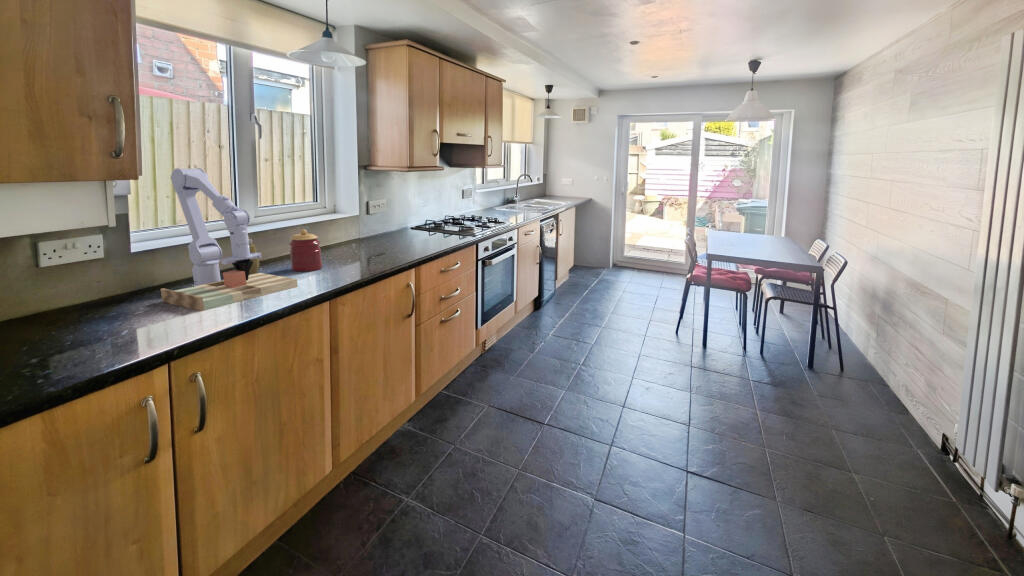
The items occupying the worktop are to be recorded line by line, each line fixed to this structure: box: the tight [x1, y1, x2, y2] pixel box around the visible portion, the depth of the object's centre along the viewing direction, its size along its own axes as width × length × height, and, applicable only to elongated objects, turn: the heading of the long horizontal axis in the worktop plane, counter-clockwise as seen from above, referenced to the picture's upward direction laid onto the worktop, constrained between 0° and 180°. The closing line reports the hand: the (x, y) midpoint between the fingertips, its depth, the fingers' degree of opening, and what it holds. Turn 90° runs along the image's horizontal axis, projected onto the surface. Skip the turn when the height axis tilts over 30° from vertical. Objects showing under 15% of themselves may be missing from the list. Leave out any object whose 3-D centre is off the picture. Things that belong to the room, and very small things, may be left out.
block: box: [222, 269, 247, 288], centre depth 180 cm, size 5×5×5 cm
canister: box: [288, 229, 323, 273], centre depth 220 cm, size 13×13×18 cm
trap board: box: [160, 272, 299, 312], centre depth 180 cm, size 22×37×4 cm, turn 152°
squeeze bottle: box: [241, 236, 260, 275], centre depth 211 cm, size 8×8×18 cm
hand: (244, 280), depth 184 cm, fingers closed
